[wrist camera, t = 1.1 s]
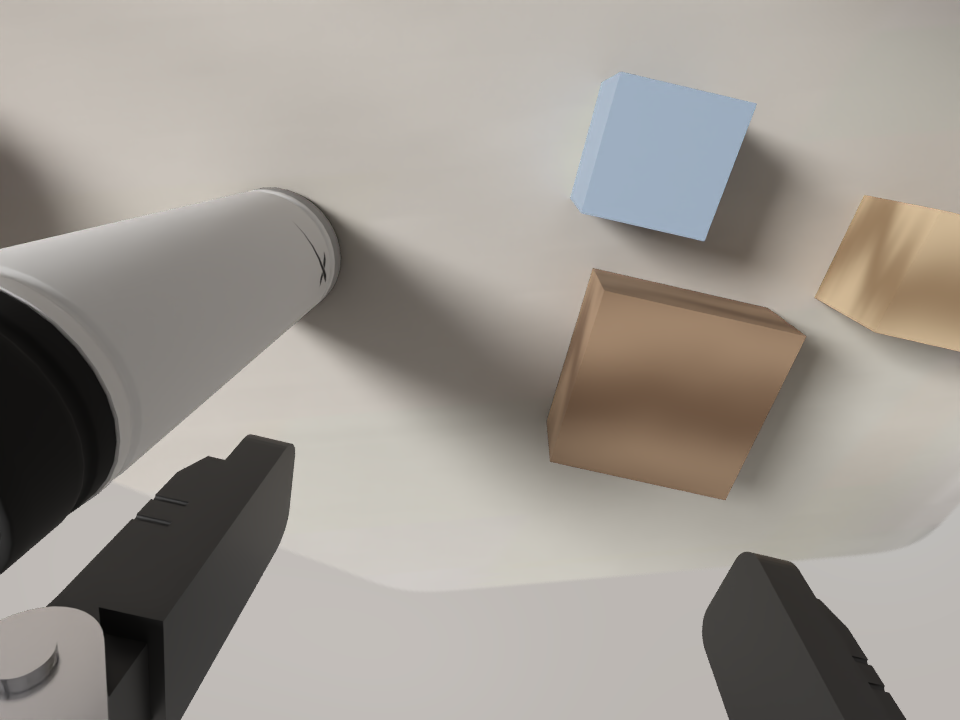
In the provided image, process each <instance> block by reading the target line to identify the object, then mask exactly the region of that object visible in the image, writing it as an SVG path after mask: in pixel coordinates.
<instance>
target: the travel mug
mask: <svg viewBox="0 0 960 720" xmlns="http://www.w3.org/2000/svg"><path fill="white" fill-rule="evenodd" d="M340 262H341V255H340V247H339V243H338V240H337V236H336V233H335V231H334V229H333V228H332V226H331V224H330V222H329V221H328V219H327V218H326V217H325V215H324V214H323V213H322V211H321V210H319V209H318V208H317V207H316V206H315V205H314V204H313V203H312V202H310V201H309V200H307V199H306V198H304V197H303V196H301V195H299V194H297V193H294V192H292V191H289V190H285V189H280V188H260V189H256V190H251V191H247V192H243V193H239V194H234V195H230V196H226V197H221V198H217V199H213V200H209V201H204V202H200V203H196V204H191V205H187V206H183V207H178V208H174V209H170V210H166V211H161V212H157V213H153V214H148V215H144V216H140V217H135V218H131V219H127V220H123V221H118V222H114V223H110V224H105V225H101V226H97V227H92V228H88V229H84V230H80V231H75V232H71V233H67V234H62V235H58V236H54V237H49V238H45V239H41V240H37V241H32V242H28V243H24V244H19V245H15V246H11V247H7V248H2V249H0V574H2V573H3V572H4V571H5V570H7V568H9V567H10V566H11V565H12V564H13V563H14V562H16V561H17V560H18V559H19V558H20V557H22V556H23V555H24V554H25V553H26V552H27V551H29V550H30V549H31V548H32V547H33V546H34V545H36V544H37V543H38V542H39V541H40V540H41V539H43V538H44V537H45V536H46V535H47V534H48V533H50V531H52V530H53V529H54V528H55V527H57V526H58V525H59V524H60V523H61V522H62V521H63V520H64V519H65V518H66V516H67V515H68V514H70V513H71V512H73V511H74V510H76V509H77V508H79V507H80V506H81V505H83V504H84V503H86V502H87V501H88V500H90V499H91V498H93V497H94V496H96V495H97V494H99V493H100V492H101V491H102V490H103V489H104V488H106V487H107V486H108V485H109V484H110V483H111V481H112V480H113V479H114V478H116V477H117V476H119V475H120V474H122V473H123V472H124V471H125V470H126V469H128V468H129V467H130V466H131V465H132V464H133V463H134V462H136V461H137V460H138V459H139V458H140V457H141V456H143V455H144V454H145V453H146V452H147V451H148V450H149V449H151V448H152V447H153V446H154V445H155V444H156V443H158V442H159V441H160V440H161V439H162V438H163V437H164V436H166V435H167V434H168V433H169V432H170V431H171V430H173V429H174V428H175V427H176V426H177V425H178V424H179V423H181V422H182V421H183V420H184V419H185V418H186V417H188V416H189V415H190V414H191V413H192V412H193V411H194V410H196V409H197V408H198V407H199V406H200V405H201V404H203V403H204V402H205V401H206V400H207V399H208V398H209V397H211V396H212V395H213V394H214V393H215V392H216V391H218V390H219V389H220V388H221V387H222V386H223V385H224V384H226V383H227V382H228V381H229V380H230V379H231V378H233V377H234V376H235V375H236V374H237V373H238V372H240V371H241V370H242V369H243V368H244V367H245V366H246V365H248V364H249V363H250V362H251V361H252V360H253V359H255V358H256V357H257V356H258V355H259V354H260V353H261V352H263V351H264V350H265V349H266V348H267V347H268V346H270V345H271V344H272V343H273V342H274V341H275V340H276V339H278V338H279V337H280V336H281V335H282V334H283V333H285V332H286V331H287V330H288V329H289V328H290V327H291V326H293V325H294V324H295V323H296V322H297V321H298V320H300V319H301V318H302V317H303V316H304V315H305V314H306V313H308V312H309V311H310V310H311V309H312V308H313V307H314V306H315V305H317V304H318V303H319V302H320V301H321V300H323V299H324V298H325V297H326V296H327V294H328V293H329V292H330V291H331V290H332V288H333V286H334V284H335V283H336V281H337V278H338V274H339V271H340Z"/></svg>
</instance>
